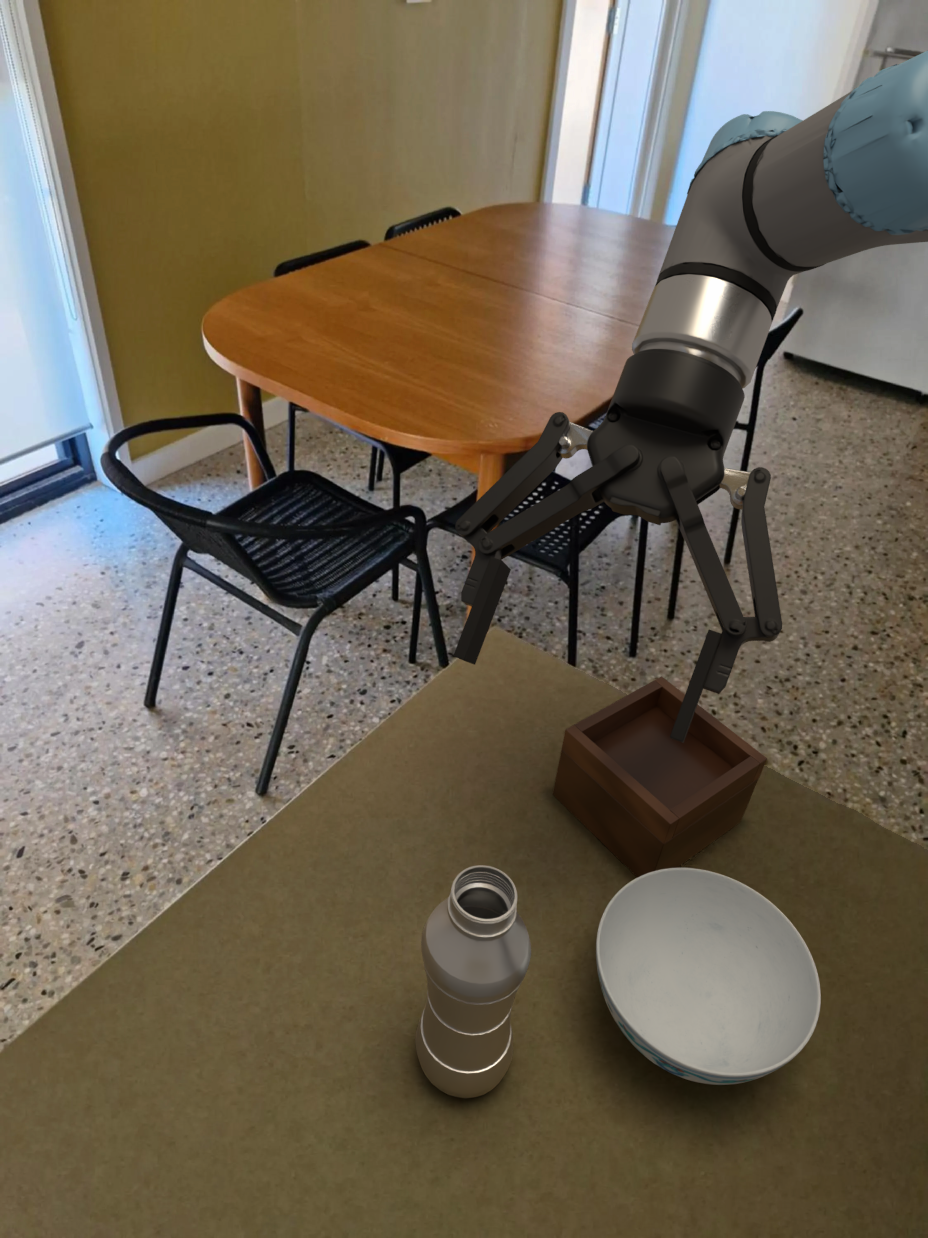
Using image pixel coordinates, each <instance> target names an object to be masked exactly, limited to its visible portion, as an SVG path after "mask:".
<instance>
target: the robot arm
mask: <svg viewBox="0 0 928 1238" xmlns="http://www.w3.org/2000/svg"><path fill="white" fill-rule="evenodd" d="M676 223H677V224H676V225H675V228H674V231H673V233H672V237H671V241H670V243H669V245H668V248H667V251H666V253H665V257H664V260H663V263H662V264H661V267H660V269H659V273H658V276H657V279H656V282H655V285H654V287H653V290H652V292H651V294H650V297H649V299H648V301H647V302H648V303H647V305H646V307H645V310H644V313H643V315H642V318H641V320H640V323H639V325H638V327H637V330H636V333H635V336H634V338H633V341H632V343H631V351H632V353H633V354H632V355H631V356H629V357H628V358H627V359H626V361H625V363H624V366H623V367H622V371H621V372H620V373H621V374H620V375H619V376H620V377H619V378H618V381H617V384H616V387H615V390H614V392H613V394H612V398H611V400H610V403H609V405H608V408H607V411H606V413H605V416H604V418H603V420H602V421H601V423H600V424H599V425H598V426H597V427H596V428H595V429H594V430H591V429H589V428H587V427H584V426H581V425H580V424H577V423H574V422H572V421H570V419H569V417H568V416H567V414H566V413H564V412H561V411H558V412H557V411H556V412H554V413H553V414H551V416H550V417H549V419H548V421H547V423H546V425H545V427H544V429H543V430H542V433H541V434H540V437H539V438H538V441H537V442H536V443H535V444H534V445H532V446H531V448H529V449H528V450H527V452H525V453H524V454H523V455H522V456H521V457H520V459H518V460H517V461H516V462H515V463H514V464H513V465H512V466H511V467H510V468H509V469H508V470H507V471H506V472H505V473H503V475H502V476H501V477H500V478H499V479H498V480H497V481H496V482H495V483H493V485H492V486H491V487H489V489H487V491H485V492H484V494H482V496H481V497H479V499H477V500H476V501H475V502H474V503H473V504H472V505H471V506H470V507H469V508H468V509H467V510H466V511H465V512H464V513H463V514H462V515H461V516H460V517H459V518H458V519H456V522H455V525H454V528H455V531H456V532H457V534H459V536H460V537H462V539H464V540H465V541H466V542H467V543H468V544H470V545H471V546H472V547H473V549H474V558H473V560H472V563H471V565H470V568H469V571H468V574H467V576H466V579H465V581H464V584H463V587H462V589H461V592H460V602H462V603H463V604H465V605H466V606H469V607H470V610H469V613H468V615H467V617H466V620H465V624H464V626H463V628H462V631H461V634H460V636H459V640H458V642H457V645H456V647H455V650H454V652H453V655H452V657H454V658H457V659H459V660H461V661H463V662H466V663H469V664H471V665H475V666H476V664H477V660H478V658H479V656H480V653H481V650H482V648H483V644H484V642H485V640H486V637H487V634H488V632H489V629H490V627H491V624H492V621H493V620H494V619H493V618H494V616H495V613H496V610H497V609H498V605H499V602H500V600H501V597H502V596H503V595H502V594H503V592H504V590H505V587H506V584H507V582H508V579H509V576H510V573H511V571H512V569H511V568H510V567H509V566H508V565H507V564H506V563H505V562H504V559H506V558H508V557H509V556H510V555H512V554H514V553H515V552H517V551H519V550H520V549H522V548H524V547H526V546H527V545H529V544H531V543H532V542H534V541H535V540H537V539H539V538H540V537H542V536H544V535H546V534H547V533H549V532H550V531H552V530H554V529H556V528H558V527H559V526H561V525H562V524H564V523H566V522H568V521H569V520H571V519H572V518H574V517H576V516H577V515H579V514H580V513H582V512H585V511H586V512H587V511H590V510H592V509H593V508H595V507H597V506H599V505H600V504H602V503H605V505H607V506H608V507H609V508H611V511H612V512H614V513H618V514H621V515H624V516H625V515H628V516H638V517H640V518H641V519H643V520H644V521H646V522H648V523H651V524H654V525H657V526H661V525H662V524H668V523H669V524H670V523H672V522H674V521H676V523H677V527H678V528H679V531H680V533H681V536H682V538H683V541H684V542H685V543H686V546H687V549H688V552H689V554H690V557H691V558H692V560H693V563H694V566H695V568H696V570H697V573H698V576H699V578H700V580H701V583H702V585H703V587H704V590H705V592H706V595H707V598H708V600H709V603H710V605H711V607H712V609H713V612H714V614H715V617H716V619H717V622H718V625H719V627H720V629H721V632H718V631H715V630H712V629H708V630H707V633H706V636H705V638H704V642H703V644H702V647H701V650H700V652H699V656H698V658H697V660H696V663H695V666H694V669H693V672H692V675H691V677H690V680H689V682H688V685H687V688H686V691H685V693H684V694H685V696H684V699H683V702H682V705H681V707H680V710H679V713H678V716H677V718H676V721H675V724H674V727H673V729H672V732H671V735H670V738H671V739H674V740H677V741H679V742H682V743H684V740H685V738H686V735H687V732H688V729H689V727H690V724H691V721H692V718H693V716H694V713H695V710H696V707H697V704H698V705H699V702H700V698H701V696H702V693H703V690H706V691H709V692H712V693H715V694H717V695H720V694H721V693H722V692H723V690H725V688H726V687H727V684H728V681H729V678H730V676H731V673H732V671H733V666H734V665H735V662H736V659H737V657H738V654H739V651H740V648H741V647H742V646H743V645H744V644H745V643H749V642H766V643H771V642H774V641H775V640H776V639H777V638H778V637H779V635H780V633H781V631H782V630H783V619H782V613H781V606H780V600H779V595H778V587H777V581H776V580H777V579H776V575H775V568H774V567H775V566H774V561H773V555H772V549H771V548H772V547H771V541H770V535H769V528H768V521H767V516H766V508H765V506H766V505H765V504H766V502H767V498H768V492H769V488H770V484H771V481H772V479H771V478H772V477H771V476H772V475H771V473H770V471H769V470H768V469H767V468H765V467H763V466H760V467H759V466H758V467H755V468H753V469H752V470H751V471H745V470H741V469H734V468H727V467H725V463H724V457H725V453H726V450H727V448H728V445H729V442H730V440H731V437H732V434H733V431H734V428H735V426H736V424H737V420H738V419H739V415H740V412H741V409H742V407H743V403H744V401H745V398H746V397H745V395H746V394H745V392H744V390H743V389H745V388H747V386H748V385H749V384H751V382H752V379H753V376H754V374H755V371H756V369H757V365H758V363H759V361H760V357H761V354H762V353H763V352H762V351H763V349H764V347H765V343H766V341H767V338H768V335H769V332H770V329H771V327H772V324H773V321H774V319H775V316H776V313H777V311H778V307H779V304H780V302H781V299H782V297H783V295H784V292H785V289H786V287H787V284H788V282H789V280H790V279H791V278H792V277H793V276H795V275H798V274H801V273H804V272H808V271H812V270H815V269H817V268H821V267H823V266H824V265H827V264H829V263H832V262H835V261H838V260H840V259H844V258H846V257H851V256H852V255H856V254H858V253H861V252H865V251H867V250H871V249H875V248H879V247H885V246H893V245H906V244H919V243H928V50H926V51H924V52H922V53H920V54H917V55H915V56H913V57H911V58H909V59H907V60H905V61H903V62H901V63H896V64H893V65H891V66H888V67H886V68H883V69H881V70H879V71H878V72H877V73H876V74H874V76H868V77H867V78H866V79H864V80H863V81H862V82H861V83H860V84H859V86H858V87H856V88H854V89H853V90H851V91H849V92H848V93H846V94H845V95H843V96H841V97H839V98H838V99H836V100H834V101H833V102H831V103H830V104H828V105H827V106H825V107H823V108H821V109H820V110H818V111H816V112H815V113H813V114H812V115H810V116H808V117H807V118H805V119H803V120H802V119H800V118H799V117H796V116H794V115H793V114H789V113H784V112H781V111H775V110H764V111H761V112H760V113H759V114H757V115H754V116H752V115H751V114H747V113H743V114H740V115H737V116H736V117H733V118H731V119H729V120H727V122H725V123H724V124H723V125H721V127H719V129H718V130H717V131H716V132H715V134H714V135H713V136H712V138H711V140H710V142H709V145H708V146H707V149H706V151H705V153H704V155H703V158H702V160H701V162H700V163H699V164H698V166H697V167H696V169H695V171H694V174H693V178H691V180H690V182H689V185H688V189H687V193H686V198H685V200H684V203H683V206H682V209H681V212H680V215H679V217H678V220H677V222H676ZM581 450H585V451H587V454H588V457H589V460H590V464H591V466H590V467H589V468H586V470H584V471H582V472H581V473H579V474H577V475H575V476H574V477H573V478H572V479H571V480H570V481H569V483H568V484H566V485H564V486H563V487H561V488H559V489H558V490H556V491H555V492H553V493H552V494H550V495H547V496H546V497H545V498H543V499H541V500H540V501H538V502H537V503H535V504H533V505H531V506H530V507H528V508H526V509H525V510H523V511H521V512H520V513H518V514H517V515H514V516H512V517H511V518H510V519H507V520H506V521H505V522H503V523H502V524H500V523H501V522H502V521H503V520H504V519H505V518H506V517H507V516H508V515H510V513H511V512H512V511H513V510H514V509H516V507H517V506H519V505H520V504H521V503H522V502H523V500H524V499H525V498H527V496H529V495H530V494H531V493H532V492H533V491H534V490H535V489H536V488H537V487H538V486H539V485H540V484H542V482H543V481H544V480H545V479H547V477H548V476H550V475H551V474H552V472H553V471H554V470H555V469H556V468H557V467H558V466H559V464H560V463H561V462H562V460H563V459H566V460H567V459H570V458H572V457H574V456H575V454H576V453H577V452H578V451H579V452H580V451H581ZM720 489H722V490H725V491H726V492H727V493H728V495H729V499H730V500H729V503H730V505H731V506H732V507H733V508H735V509H737V510H741V519H740V521H741V522H740V523H741V532H742V539H743V545H744V552H745V559H746V566H747V572H748V579H749V586H750V591H751V592H750V595H751V599H752V607H753V614H754V616H744V615H743V613H742V609H741V607H740V605H739V603H738V600H737V598H736V595H735V592H734V591H733V588H732V585H731V583H730V581H729V578H728V576H727V573H726V571H725V569H724V567H723V564H722V561H721V560H720V557H719V555H718V552H717V550H716V548H715V545H714V543H713V541H712V538H711V536H710V533H709V531H708V528H707V526H706V523H705V519H704V517H703V514H702V511H701V509H700V506H699V504H701V503H703V502H704V501H705V500H707V499H708V498H710V497H712V496H713V495H714V494H716V493H717V492H718V491H719V490H720Z"/></svg>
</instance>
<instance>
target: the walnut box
mask: <svg viewBox="0 0 928 1238" xmlns="http://www.w3.org/2000/svg"><path fill="white" fill-rule="evenodd" d="M685 694H686V693H685V692H683V691H681V690H680V689H679V688H678V687H676V686H675V685H673V684H672V683H671V682H670V681H669V680H667V679H666V678H664V676H660V677H657V678H656V679H654V680H652V681H651V682H649V683H647V684H645V685H643V686H642V687H640V688H637V689H636V690H634V691H632V692H630V693H629V694H627V695H625V696H623V697H622V698H619V699H618V700H616V701H614V702H612V703H610V704H608V705H607V706H605V707H603V708H602V709H600V710H598V711H596V712H594V713H592V714H591V715H589V716H587V717H585V718H583V719H582V720H580V721H578V722H576V723H574V724H573V725H571V726H569V727H567V728H565V730H564V734H563V740H562V745H561V750H560V755H559V758H558V759H559V760H558V765H557V769H556V774H555V779H554V785H553V790H552V795H553V797H554V798H556V800H558V802H560V804H562V805H563V806H564V807H565V808H566V809H567V810H568V811H569V812H570V813H571V814H572V815H573V816H574V817H575V818H576V819H577V820H578V821H579V822H580V823H581V824H582V825H583V826H584V827H585V828H586V829H587V830H588V831H589V832H590V833H591V834H592V835H593V836H594V837H595V838H596V839H597V840H598V841H600V843H602V844H603V845H604V846H605V848H607V849H608V851H610V853H612V854H613V855H614V856H615V857H616V858H617V859H618V860H619V861H620V862H621V863H622V864H623V866H625V867H626V868H627V869H628V870H629V871H630V872H631V873H632V874H633V875H634V876H635V877H636V878H638V877H640V876H642V875H644V874H647V873H650V872H653V871H657V870H662V869H668V868H680V867H681V866H682V865H684V864H685V863H686V862H688V861H689V860H690V859H691V858H693V857H695V856H696V855H697V854H698V853H700V852H701V851H703V850H704V849H705V848H707V847H708V846H710V845H711V844H712V843H714V842H715V841H716V840H718V839H719V838H721V837H722V836H724V835H725V834H726V833H728V832H729V831H730V830H732V829H733V828H735V827H736V826H737V825H739V824H740V823H741V822H742V820H743V817H744V815H745V812H746V810H747V807H748V805H749V803H750V801H751V799H752V796H753V793H754V791H755V789H756V786H757V785H758V781H759V779H760V777H761V774H762V772H763V770H764V767H765V765H766V763H767V761H768V757H766V756H765V755H764V754H763V753H761V752H760V751H759V750H757V749H756V748H754V747H753V746H752V745H751V744H750V743H749V742H747V741H746V740H745V739H743V738H742V737H740V735H738V734H737V733H736V732H735V731H733V730H732V729H730V728H729V727H728V726H726V725H725V724H724V723H723V722H721V721H720V720H719V719H718V718H716V717H715V716H714V715H712V714H711V713H709V711H707V710H705V708H703V707H702V706H701V705H699V703H698V704H697V707H696V710H695V713H694V716H693V718H692V721H691V724H690V727H689V729H688V732H687V735H686V738H685V740H684V743H682V742H679V741H677V740H674V739H671V738H670V735H671V732H672V729H673V727H674V724H675V721H676V718H677V716H678V713H679V710H680V707H681V705H682V702H683V699H684V696H685Z"/></svg>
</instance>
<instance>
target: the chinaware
mask: <svg viewBox="0 0 928 1238" xmlns="http://www.w3.org/2000/svg"><path fill="white" fill-rule="evenodd" d="M597 928H598V929H597V933H596V940H595V959H596V969H597V976H598V981H599V985H600V988H601V992H602V995H603V999H604V1001H605V1004H606V1006H607V1009H608V1010H609V1013H610V1014H611V1017H612V1019H613V1020H614V1022H615V1023H616V1025H617V1027H618V1028H619V1029H620V1031H621V1032H622V1034H623V1035H624V1036H625V1038H626V1039H627V1040H628V1042H629V1043H630V1044H631V1045H632V1046H633V1047H634V1048H635V1049H636V1050H637V1052H639V1053H640V1054H641V1055H642V1056H644V1057H645V1058H646V1059H647V1060H648V1061H650V1062H651V1063H653V1064H654V1065H656V1066H658V1067H659V1068H661V1069H663V1070H664V1071H666V1072H668V1073H669V1074H672V1075H674V1076H677V1077H679V1078H682V1079H685V1080H688V1081H691V1082H695V1083H700V1084H705V1085H714V1086H715V1085H717V1086H725V1085H737V1084H742V1083H743V1084H744V1083H747V1082H751V1081H755V1080H757V1079H760V1078H763V1077H766V1076H768V1075H770V1074H772V1073H773V1072H775V1071H777V1070H779V1069H780V1068H782V1067H784V1066H785V1065H786V1064H788V1063H790V1062H791V1061H792V1060H793V1059H794V1058H796V1056H797V1055H799V1054H800V1052H802V1051H803V1050H804V1048H805V1047H806V1045H807V1044H808V1042H809V1041H810V1039H811V1037H812V1036H813V1034H814V1032H815V1029H816V1027H817V1024H818V1022H819V1021H818V1020H819V1016H820V1013H821V1000H822V996H821V993H822V992H821V984H820V977H819V974H818V970H817V965H816V963H815V960H814V958H813V955H812V953H811V951H810V949H809V947H808V945H807V943H806V941H805V940H804V938H803V937H802V935H801V934H800V932H799V930H798V929H797V928H796V926H795V925H794V924H793V923H792V922H791V920H790V919H789V918H788V917H787V916H786V915H785V914H784V913H783V912H782V910H780V909H779V908H778V907H777V906H776V905H775V904H774V903H773V902H772V901H770V900H769V899H768V898H767V897H765V896H764V895H762V894H761V893H760V892H758V891H757V890H755V889H753V888H752V887H750V886H748V885H747V884H745V883H743V882H740V881H739V880H736V879H734V878H732V877H729V876H727V875H724V874H721V873H718V872H714V871H711V870H707V869H702V868H701V869H700V868H695V867H678V868H668V869H662V870H657V871H653V872H650V873H647V874H644V875H642V876H640V877H636V878H634V879H632V880H631V881H629V882H627V884H625V885H623V886H622V888H620V889H619V890H618V891H617V892H616V893H615V894H614V895H613V897H612V898H611V899H610V901H609V902H608V904H607V905H606V907H605V909H604V911H603V913H602V915H601V918H600V920H599V924H598V927H597Z"/></svg>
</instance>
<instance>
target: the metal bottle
mask: <svg viewBox="0 0 928 1238" xmlns="http://www.w3.org/2000/svg"><path fill="white" fill-rule="evenodd" d="M450 889H451V890H450V892H449V896H448V897H446V898H444V899H443V900H442V901H441V902H439V903H438V904H437V905H436V907H435V908H434V909H433V910H432V911H431V913H430V915H429V916H428V918H427V919H426V922H425V923H424V926H423V928H422V931H421V938H420V940H421V941H420V944H421V945H420V946H421V957H422V962H423V967H424V972H425V976H426V990H427V993H426V994H427V996H426V1001H425V1005H424V1009H423V1010H422V1012H421V1013H420V1017H419V1019H418V1020H419V1021H418V1023H417V1027H416V1031H415V1038H414V1045H415V1052H416V1055H417V1058H418V1062H419V1064H420V1067H421V1070H422V1072H423V1073H424V1076H425V1077H426V1079H427V1080H428V1081H429V1082H430V1083H431V1085H433V1086H434V1087H435V1088H436V1089H438V1090H439V1091H441V1092H442V1093H444V1094H447V1095H448V1096H451V1097H455V1098H460V1099H471V1098H478V1097H481V1096H484V1095H486V1094H488V1093H489V1092H491V1091H492V1090H493V1089H494V1088H496V1087H497V1086H498V1085H499V1084H500V1082H501V1081H502V1079H503V1078H504V1076H505V1075H506V1074H507V1072H508V1070H509V1068H510V1066H511V1063H512V1059H513V1055H514V1035H513V1034H514V1033H513V1028H512V1023H511V1021H512V1019H511V1018H512V1017H511V1016H512V1008H513V1005H514V1001H515V997H516V995H517V993H518V991H519V988H520V986H521V985H522V983H523V981H524V979H525V977H526V975H527V972H528V969H529V966H530V962H531V958H532V943H531V938H530V934H529V931H528V928H527V926H526V924H525V921H524V919H523V917H522V916H521V915H520V914H519V912H518V911H517V909H518V908H517V906H518V905H517V904H518V891H517V887H516V885H515V883H514V882H513V880H512V879H511V878H510V876H509V875H508V874H507V873H505V872H504V871H502V870H501V869H498V868H496V867H494V866H491V865H484V864H480V865H479V864H477V865H472V866H468V867H467V868H464V869H463V870H462V871H460V872H459V873H458V874H457V875H456V876H455V878H454V880H453V881H452V884H451V888H450Z"/></svg>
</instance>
